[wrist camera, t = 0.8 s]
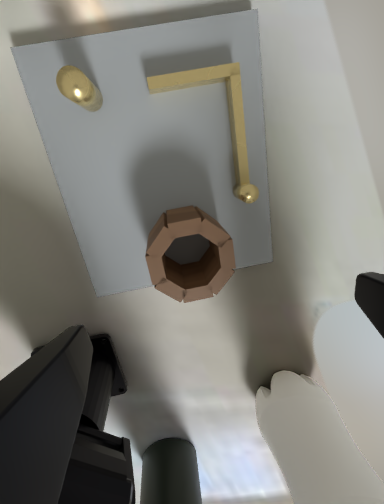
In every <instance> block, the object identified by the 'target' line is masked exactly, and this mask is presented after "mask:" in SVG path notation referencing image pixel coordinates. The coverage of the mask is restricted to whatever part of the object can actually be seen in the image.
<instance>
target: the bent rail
mask: <svg viewBox="0 0 384 504" xmlns="http://www.w3.org/2000/svg"><path fill="white" fill-rule="evenodd" d="M221 82H225V83H226V93H227V102H228V112H229V121H230V131H231V141H232V150H233V160H234V169H235V179H236V184H235V185H234V187H233V195H234V196H235V197H236V198H238V199H239V200H241V201H243V202H245V203H248V204H250V203H253V202H255V201H256V200H257V199H258V196H259V190H258V188H257V187H256V186H255V185H253V184H250V180H249V169H248V157H247V145H246V134H245V122H244V110H243V99H242V87H241V75H240V64H239V62H236V63H230V64H224V65H218V66H212V67H206V68H200V69H194V70H188V71H182V72H176V73H170V74H164V75H158V76H152V77H147V83H148V88H149V93H150V94H156V93H162V92H167V91H173V90H179V89H185V88H191V87H197V86H203V85H209V84H215V83H221Z"/></svg>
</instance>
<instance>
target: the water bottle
mask: <svg viewBox="0 0 384 504" xmlns="http://www.w3.org/2000/svg"><path fill="white" fill-rule="evenodd" d="M255 407H256V417H257V422H258V425H259V429H260V432H261V434H262V437H263V438H264V440H265V442H266V443H267V445H268V447H269V448H270V450H271V452H272V454H273V455H274V457H275V459H276V461H277V463H278V465H279V467H280V469H281V471H282V473H283V476H284V478H285V481H286V483H287V485H288V488H289V490H290V493H291V496H292V499H293V501H294V504H384V482H383V481H382V479H381V478H380V477H379V476H378V474H377V473H376V472H375V470H374V469H373V468H372V466H371V465H370V463H369V462H368V461H367V459H366V458H365V456H364V455H363V453H362V452H361V450H360V449H359V447H358V446H357V444H356V443H355V441H354V439H353V438H352V436H351V434H350V432H349V431H348V429H347V427H346V425H345V423H344V421H343V419H342V417H341V415H340V414H339V411H338V409H337V407H336V405H335V403H334V401H333V400H332V398H331V397H330V396H329V394H328V393H327V392H326V391H325V390H324V389H323V387H322V386H321V385H320V384H318V383H317V382H316V381H315V380H314V379H312V378H311V377H309V376H306V375H304V374H301V375H300V376H299V375H298V374H296V373H294V372H291V371H285V370H283V371H279V372H276V373H275V374H273V377H272V380H271V391H270V390H269V389H267V388H265V387H262V386H260V388H259V389H258V390H257V394H256V401H255Z"/></svg>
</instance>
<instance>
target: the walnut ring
mask: <svg viewBox="0 0 384 504" xmlns="http://www.w3.org/2000/svg"><path fill="white" fill-rule="evenodd" d="M194 234H200V235H202V236H203V237H205V238H206V239H208V240H209V245H210V247H209V248H208V249H207V251H206V252H205V253H204V255H203V256H202V257H201V259H200V260H199V261H197V262H192V263H187V264H182V265H180V264H179V263H177V262H175V261H174V260H172V259H170V258H169V257H167V256H166V255H165V252H166V250H167V249H168V247H169V246H170V244H171V243H172V242H173V240H174V239H175V238H179V237H184V236H189V235H194ZM145 258H146V262H147V266H148V270H149V274H150V278H151V282H152V285H155V289H157V290H159V291H161V292H162V293H164V294H166V295H168V296H170V297H171V298H173V299H175V300H177V301H179V302H181V301H182V300H183V301H184V303H186V302H191V301H196V300H201V299H205V298H210V297H213V293H214V294H216V295H217V294H218V292H219V291H220V290H221V289H222V287H223V286H224V285H225V284H226V282H227V281H228V280H229V279H230V277H231V276H232V275H233V274H234V272H235V271H234V270H233V269H235V268H236V265H235V256H234V248H233V239H232V238H231V237H230V235H229V234H228V233H227V232H226V230H225V229H224V228H223V227H222V226H221V225H220V224H219V222H218V221H217V220H215V219H214V218H212V217H211V216H210V215H208V214H207V213H205V212H204V211H202V210H201V209H200V208H198V207H197V206H195V208H194V207H193V205H191V206H186V207H181V208H175V209H170V210H166V213H164V212H163V213H162V215H161V216H160V218H159V219H158V221H157V222H156V224H155V225H154V227H153V228H152V230H151V231H150V233H149V236H148V242H147V248H146V254H145Z"/></svg>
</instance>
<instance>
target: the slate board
mask: <svg viewBox="0 0 384 504" xmlns="http://www.w3.org/2000/svg"><path fill="white" fill-rule="evenodd" d="M10 48H11V51H12V54H13V56H14V59H15V62H16V65H17V68H18V71H19V74H20V77H21V80H22V82H23V85H24V88H25V91H26V94H27V97H28V100H29V103H30V105H31V108H32V111H33V114H34V117H35V120H36V123H37V126H38V129H39V131H40V134H41V137H42V140H43V143H44V146H45V149H46V152H47V155H48V157H49V160H50V163H51V166H52V169H53V172H54V175H55V178H56V180H57V183H58V186H59V189H60V192H61V195H62V198H63V201H64V204H65V206H66V209H67V212H68V215H69V218H70V221H71V224H72V227H73V230H74V232H75V235H76V238H77V241H78V244H79V247H80V250H81V253H82V256H83V258H84V261H85V264H86V267H87V270H88V273H89V276H90V279H91V281H92V284H93V287H94V290H95V293H96V296H97V297H101V296H106V295H111V294H116V293H121V292H126V291H131V290H136V289H141V288H146V287H151V286H155V285H152V282H151V278H150V274H149V270H148V266H147V262H146V258H145V254H146V248H147V242H148V236H149V233H150V231H151V230H152V228H153V227H154V225H155V224H156V222H157V221H158V219H159V218H160V216H161V215H162V213H163V212H164V213H166V210H170V209H175V208H181V207H186V206H191V205H193V207H194V208H195V206H197V207H198V208H200V209H201V210H202V211H204V212H205V213H207V214H208V215H210V216H211V217H212V218H214V219H215V220H217V221H218V222H219V224H220V225H221V226H222V227H223V228H224V229H225V230H226V232H227V233H228V234H229V235H230V237H231V238H232V239H233V248H234V256H235V265H236V268H235V269H239V268H244V267H249V266H254V265H259V264H264V263H269V262H273V255H272V239H271V222H270V206H269V189H268V173H267V157H266V140H265V124H264V107H263V91H262V74H261V58H260V42H259V25H258V9H252V10H246V11H239V12H233V13H227V14H220V15H214V16H208V17H201V18H195V19H188V20H182V21H176V22H169V23H163V24H157V25H150V26H144V27H138V28H131V29H125V30H119V31H112V32H106V33H99V34H93V35H87V36H80V37H74V38H68V39H61V40H55V41H49V42H42V43H36V44H30V45H23V46H17V47H10ZM236 62H239V64H240V75H241V87H242V99H243V110H244V122H245V134H246V145H247V157H248V169H249V180H250V184H253V185H255V186H256V187H257V188H258V190H259V196H258V199H257V200H256V201H255V202H253V203H250V204H248V203H245V202H243V201H241V200H239V199H238V198H236V197H235V196H234V195H233V187H234V185H235V184H236V179H235V169H234V160H233V150H232V141H231V131H230V121H229V112H228V102H227V93H226V83H225V82H221V83H215V84H209V85H203V86H197V87H191V88H185V89H179V90H173V91H167V92H162V93H156V94H150V93H149V88H148V83H147V77H152V76H158V75H164V74H170V73H176V72H182V71H188V70H194V69H200V68H206V67H212V66H218V65H224V64H230V63H236ZM66 65H72V66H75V67H77V68H78V69H80V70H81V71H82V72H83V73H84V74H85V75H86V77H87V78H88V79H89V80H90V81H91V82H92V83H93V84H94V85H95V86H96V87H97V88H98V89H99V91H100V92H101V94H102V97H103V104H102V106H101V108H100V109H99V110H97V111H95V112H90V111H87V110H85V109H84V108H82V107H81V106H79V105H77V104H76V103H74V102H73V101H71V100H70V99H68V98H66V97H65V96H64V95H62V94H61V92H60V91H59V89H58V87H57V84H56V76H57V73H58V71H59V70H60V69H61V68H62V67H63V66H66ZM209 247H210V245H209V240H208V239H206V238H205V237H203V236H202V235H200V234H194V235H189V236H184V237H179V238H175V239H174V240H173V242H172V243H171V244H170V246H169V247H168V249H167V250H166V252H165V255H166V256H167V257H169V258H170V259H172V260H174V261H175V262H177V263H179V264H180V265H182V264H187V263H192V262H197V261H199V260H200V259H201V257H202V256H203V255H204V253H205V252H206V251H207V249H208V248H209ZM233 270H234V269H233Z"/></svg>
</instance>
